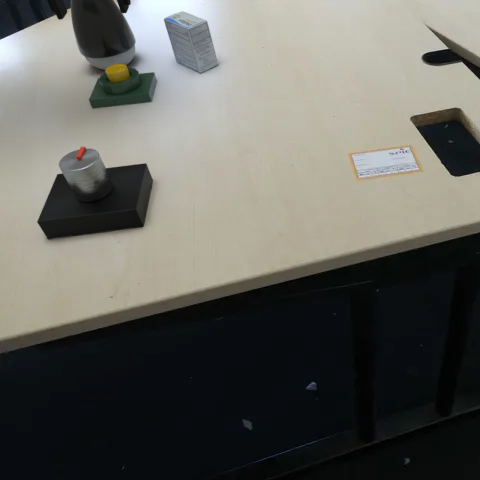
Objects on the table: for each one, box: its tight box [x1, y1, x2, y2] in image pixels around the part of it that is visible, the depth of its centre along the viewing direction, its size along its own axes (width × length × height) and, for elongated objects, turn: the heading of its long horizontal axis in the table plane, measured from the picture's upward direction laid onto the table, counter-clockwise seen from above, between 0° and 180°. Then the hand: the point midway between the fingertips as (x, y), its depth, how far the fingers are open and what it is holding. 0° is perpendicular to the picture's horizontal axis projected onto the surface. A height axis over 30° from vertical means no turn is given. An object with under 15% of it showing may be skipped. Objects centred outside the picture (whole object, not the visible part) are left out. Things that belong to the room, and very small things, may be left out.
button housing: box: [88, 66, 158, 110], centre depth 93 cm, size 10×8×4 cm
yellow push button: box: [104, 64, 130, 82], centre depth 92 cm, size 4×4×2 cm
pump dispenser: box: [70, 0, 136, 71], centre depth 98 cm, size 10×10×15 cm
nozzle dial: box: [58, 146, 113, 202], centre depth 68 cm, size 5×5×5 cm
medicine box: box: [163, 10, 219, 74], centre depth 99 cm, size 8×4×9 cm, turn 48°
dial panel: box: [36, 162, 154, 240], centre depth 71 cm, size 12×10×3 cm
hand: (94, 13), depth 84 cm, fingers open, 9 cm apart
